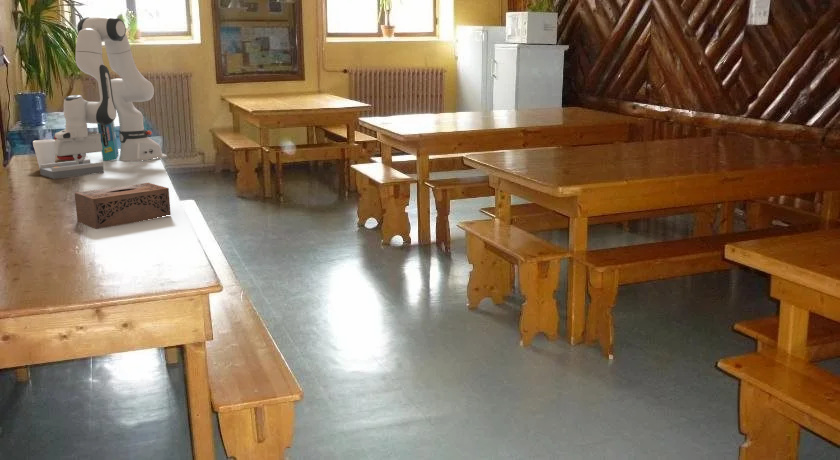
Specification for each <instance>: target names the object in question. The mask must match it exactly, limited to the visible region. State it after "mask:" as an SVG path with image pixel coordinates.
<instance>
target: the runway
mask: <svg viewBox="0 0 840 460" xmlns="http://www.w3.org/2000/svg"><path fill="white" fill-rule="evenodd" d="M54 167H57V168H54ZM104 171H105V170H104V162H103V161H102V162H95V163H92V162H91V159H90V158H89V159H87V158H86V159H84V164H76V160H68V161H60V162H55V163H51V164H42V165H40V168H39V172H40V176H43V177H47V178H49V179H52V180H53V179H54V180H57V179H63V178H64V179H65V178H70V177H71V178H72V177H73V178H74V177H79V176H87V175H95V174H103V173H105V172H104Z"/></svg>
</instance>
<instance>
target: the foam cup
mask: <svg viewBox="0 0 840 460" xmlns="http://www.w3.org/2000/svg"><path fill="white" fill-rule="evenodd" d="M54 142H55V140H54V139H38V140H33V141H32V145H33V148H34V153H35V156H36V161H37V164H38V168H39V169H40V165H42V164H51V163H56V156H57V155H56V154H55V153H54Z"/></svg>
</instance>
